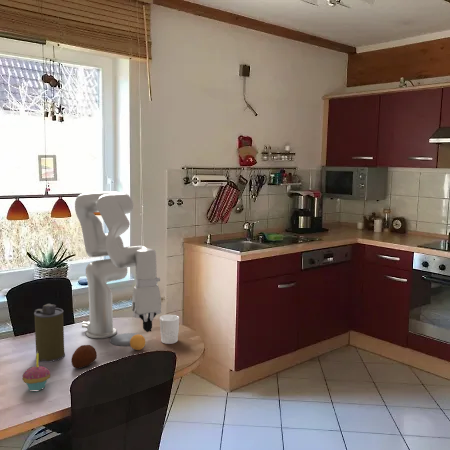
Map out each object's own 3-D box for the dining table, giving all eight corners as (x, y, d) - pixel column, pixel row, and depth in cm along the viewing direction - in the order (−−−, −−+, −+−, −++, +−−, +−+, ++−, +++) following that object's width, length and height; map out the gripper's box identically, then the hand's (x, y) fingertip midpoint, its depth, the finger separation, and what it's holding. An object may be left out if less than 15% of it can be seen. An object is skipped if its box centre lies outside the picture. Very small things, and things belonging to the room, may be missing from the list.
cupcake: (27, 382, 168) (26, 348, 166) (53, 382, 169) (52, 347, 167) (19, 395, 160) (17, 359, 158) (47, 394, 160) (45, 358, 159)
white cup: (180, 337, 210) (180, 314, 209) (177, 345, 202) (177, 321, 201) (162, 337, 211) (162, 314, 209) (157, 344, 203) (157, 320, 202)
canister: (70, 353, 193) (69, 302, 190) (53, 363, 183) (51, 310, 180) (47, 349, 197) (45, 299, 194) (28, 359, 187) (26, 307, 184)
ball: (127, 351, 195) (127, 336, 194) (133, 345, 201) (133, 331, 200) (141, 353, 194) (141, 338, 193) (147, 347, 199) (147, 333, 199)
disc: (103, 344, 202) (103, 343, 202) (119, 332, 216) (119, 331, 216) (135, 347, 199) (135, 347, 199) (149, 335, 212) (149, 335, 212)
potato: (102, 360, 186) (102, 340, 185) (86, 373, 175) (85, 352, 174) (84, 358, 188) (84, 338, 187) (66, 371, 178) (66, 349, 176)
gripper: (161, 278, 192) (162, 324, 194) (123, 283, 184) (124, 331, 187) (169, 281, 185) (170, 330, 188) (130, 287, 178) (132, 337, 180)
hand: (147, 330), depth 187 cm, fingers closed
